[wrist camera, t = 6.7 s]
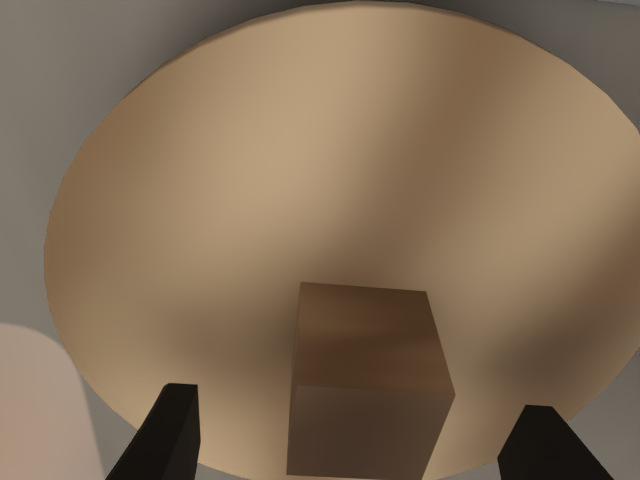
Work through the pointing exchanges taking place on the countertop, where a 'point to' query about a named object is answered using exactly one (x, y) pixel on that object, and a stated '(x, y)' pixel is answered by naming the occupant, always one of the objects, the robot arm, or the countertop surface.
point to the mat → (624, 1)
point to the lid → (353, 242)
